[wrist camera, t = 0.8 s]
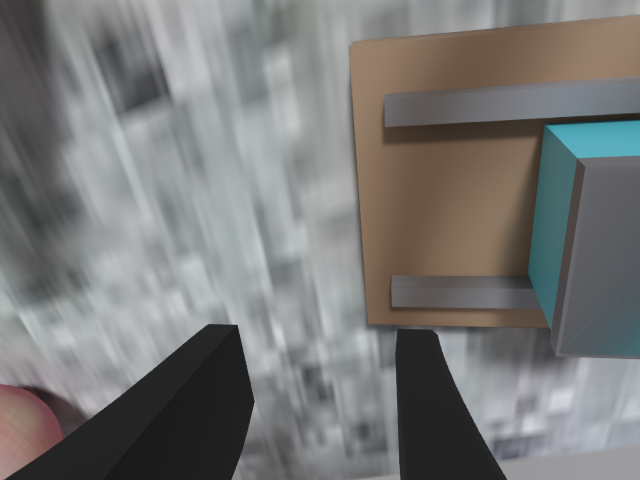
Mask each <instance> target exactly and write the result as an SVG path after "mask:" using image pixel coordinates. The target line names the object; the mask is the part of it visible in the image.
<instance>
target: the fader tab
mask: <svg viewBox="0 0 640 480" xmlns="http://www.w3.org/2000/svg"><path fill="white" fill-rule="evenodd" d="M528 275H529V278H530V280H531V283H532V285H533V288H534V290H535V293H536V295H537V298H538V300H539V303H540V305H541V308H542V310H543V313H544V315H545V317H546V320H547V322H548V325H549V327H550V330H551V335H550V344H551V346H552V349H553V352H554V354H555V356H561V357H590V358H620V359H640V119H626V120H607V121H589V122H571V123H553V124H545V125H544V134H543V143H542V151H541V160H540V169H539V178H538V187H537V195H536V204H535V213H534V222H533V231H532V239H531V248H530V257H529V266H528Z"/></svg>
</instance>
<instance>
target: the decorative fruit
mask: <svg viewBox="0 0 640 480" xmlns="http://www.w3.org/2000/svg"><path fill="white" fill-rule="evenodd" d="M62 440H63V435H62V430H61V427H60V425H59V422H58V420H57V418H56V416H55V415H54V413H53V412H52V410H51V409H50V408H49V407H48V406H47V405H46V404H45V403H44V402H43V401H42V400H41V399H39V398H38V397H37V396H35V395H34V394H33V393H31V392H29V391H27V390H24V389H22V388H19V387H15V386H11V385H2V384H0V480H4V479H6V478H7V477H9V476H10V475H12V474H13V473H15V472H16V471H18V470H19V469H21V468H22V467H24V466H25V465H27V464H28V463H30V462H31V461H33V460H34V459H36V458H37V457H39V456H40V455H42V454H43V453H45V452H46V451H47V450H49V449H50V448H52V447H53V446H55V445H56V444H57V443H59V442H60V441H62Z"/></svg>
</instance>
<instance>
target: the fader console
mask: <svg viewBox="0 0 640 480" xmlns="http://www.w3.org/2000/svg"><path fill="white" fill-rule="evenodd" d="M349 56H350V70H351V85H352V100H353V114H354V129H355V143H356V158H357V173H358V187H359V202H360V217H361V231H362V246H363V260H364V275H365V290H366V304H367V319H368V324H394V325H436V326H478V327H521V328H550V327H549V325H548V322H547V320H546V317H545V315H544V313H543V310H542V308H541V305H540V303H539V300H538V298H537V295H536V293H535V290H534V288H533V285H532V283H531V280H530V278H529V275H528V266H529V257H530V248H531V239H532V231H533V222H534V213H535V204H536V195H537V187H538V178H539V169H540V160H541V151H542V143H543V134H544V125H545V124H553V123H571V122H589V121H607V120H626V119H640V15H634V16H623V17H612V18H601V19H591V20H580V21H569V22H559V23H548V24H537V25H526V26H516V27H505V28H494V29H484V30H473V31H462V32H451V33H441V34H430V35H419V36H409V37H398V38H387V39H376V40H366V41H355V42H353V43H352V44H351V45H350V46H349Z"/></svg>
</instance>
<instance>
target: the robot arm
mask: <svg viewBox="0 0 640 480" xmlns="http://www.w3.org/2000/svg"><path fill="white" fill-rule="evenodd" d="M395 357H396V384H397V411H398V438H399V464H400V478H401V480H507V479H506V477H505V475H504V474H503V472H502V470H501V468H500V467H499V465H498V463H497V462H496V460H495V458H494V457H493V455H492V453H491V452H490V450H489V448H488V446H487V445H486V443H485V441H484V439H483V438H482V436H481V434H480V432H479V430H478V428H477V427H476V425H475V423H474V421H473V419H472V417H471V415H470V413H469V411H468V409H467V407H466V405H465V403H464V401H463V399H462V397H461V395H460V393H459V391H458V389H457V387H456V385H455V382H454V380H453V378H452V375H451V373H450V371H449V368H448V366H447V363H446V361H445V358H444V355H443V352H442V349H441V346H440V342H439V338H438V335H437V334H436V333H435V332H434V331H433V330H421V329H398V330H397V341H396V354H395ZM254 402H255V401H254V397H253V392H252V388H251V383H250V379H249V374H248V370H247V365H246V361H245V356H244V352H243V347H242V343H241V338H240V334H239V329H238V325H224V324H208V325H207V326H205V327H204V328H203V329H202V330H200V331H199V332H198V333H196V334H195V335H194V336H193V337H191V338H190V339H189V340H188V341H187V342H185V343H184V344H183V345H182V346H181V347H179V348H178V349H177V350H176V351H175V352H173V353H172V354H171V355H170V356H169V357H167V358H166V359H165V360H164V361H163V362H161V363H160V364H159V365H158V366H157V367H155V368H154V369H153V370H152V371H151V372H149V373H148V374H147V375H146V376H144V377H143V378H142V379H141V380H140V381H138V382H137V383H136V384H135V385H133V386H132V387H131V388H130V389H129V390H127V391H126V392H125V393H124V394H122V395H121V396H120V397H119V398H117V399H116V400H115V401H113V402H112V403H111V404H109V405H108V406H107V407H105V408H104V409H103V410H102V411H100V412H99V413H98V414H96V415H95V416H94V417H92V418H91V419H90V420H88V421H87V422H86V423H84V424H83V425H82V426H80V427H79V428H78V429H76V430H75V431H74V432H73V433H71V434H70V435H69V436H67V437H66V438H64V439H63V440H62V441H60V442H59V443H57V444H56V445H55V446H53V447H52V448H50V449H49V450H47V451H46V452H45V453H43V454H42V455H40V456H39V457H37V458H36V459H34V460H33V461H31V462H30V463H28V464H27V465H25V466H24V467H22V468H21V469H19V470H18V471H16V472H15V473H13V474H12V475H10V476H9V477H7V478H6V479H4V480H231V479H232V476H233V474H234V471H235V469H236V466H237V463H238V461H239V458H240V455H241V453H242V450H243V446H244V442H245V438H246V435H247V431H248V427H249V423H250V419H251V415H252V411H253V406H254Z"/></svg>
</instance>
